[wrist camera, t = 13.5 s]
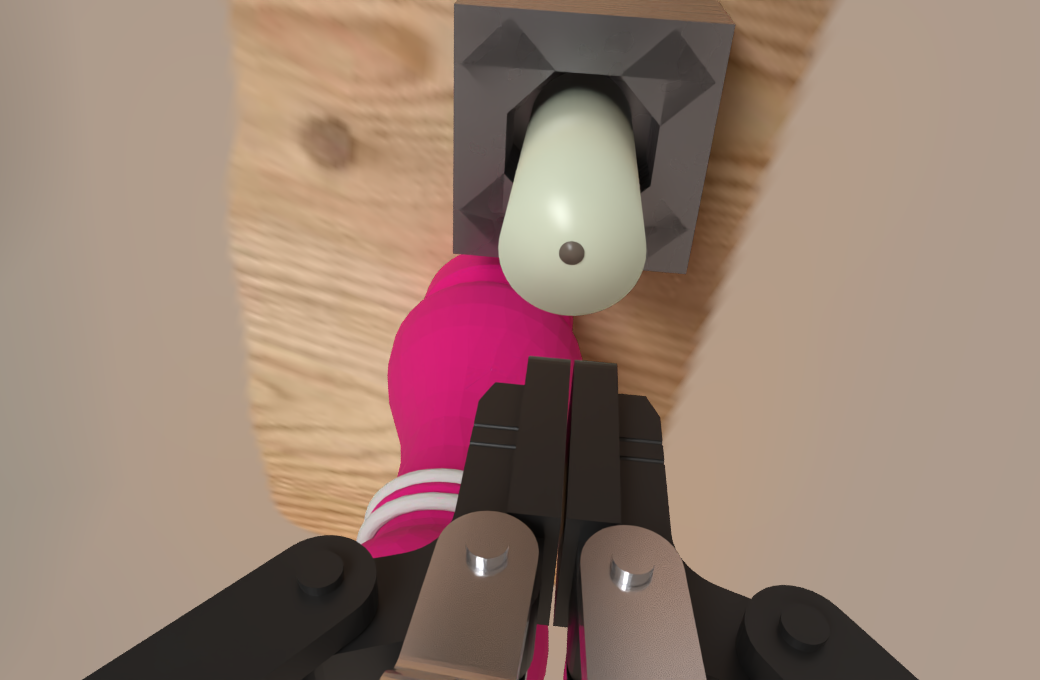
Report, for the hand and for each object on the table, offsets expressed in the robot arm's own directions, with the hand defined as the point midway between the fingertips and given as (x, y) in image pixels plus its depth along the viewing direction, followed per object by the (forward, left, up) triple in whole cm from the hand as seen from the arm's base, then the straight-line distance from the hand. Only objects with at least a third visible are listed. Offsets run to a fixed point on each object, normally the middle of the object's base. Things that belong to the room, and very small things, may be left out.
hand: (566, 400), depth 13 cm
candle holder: (0, 0, -17) cm, 17 cm away
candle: (0, 0, -16) cm, 16 cm away
